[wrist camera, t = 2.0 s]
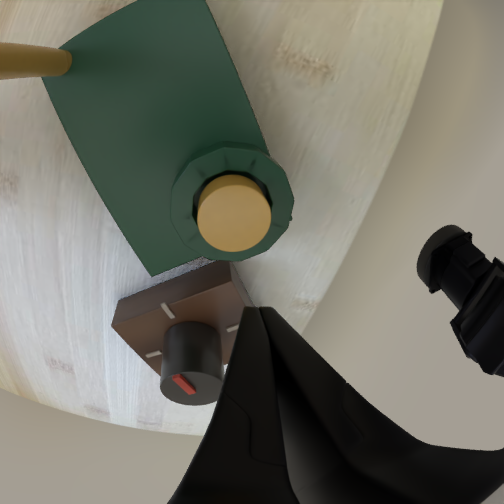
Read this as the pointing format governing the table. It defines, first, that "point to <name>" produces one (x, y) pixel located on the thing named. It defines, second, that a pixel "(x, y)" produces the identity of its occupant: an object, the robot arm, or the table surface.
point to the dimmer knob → (192, 364)
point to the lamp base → (164, 127)
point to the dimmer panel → (183, 310)
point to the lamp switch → (233, 213)
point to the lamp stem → (32, 61)
